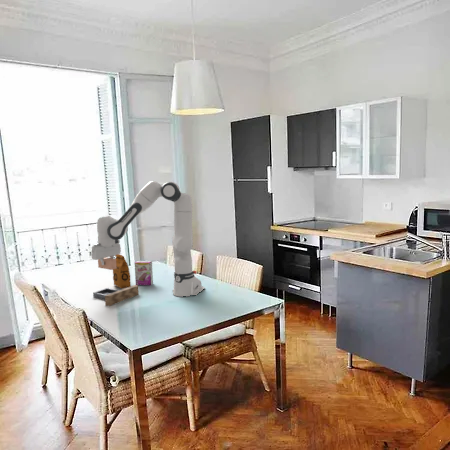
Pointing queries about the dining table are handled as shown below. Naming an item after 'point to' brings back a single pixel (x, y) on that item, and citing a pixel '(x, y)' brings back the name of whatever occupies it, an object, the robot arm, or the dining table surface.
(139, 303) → the dining table surface
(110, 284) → the dining table surface
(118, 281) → the coffee package
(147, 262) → the candy bar box
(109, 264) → the block
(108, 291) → the tray
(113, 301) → the walnut board
